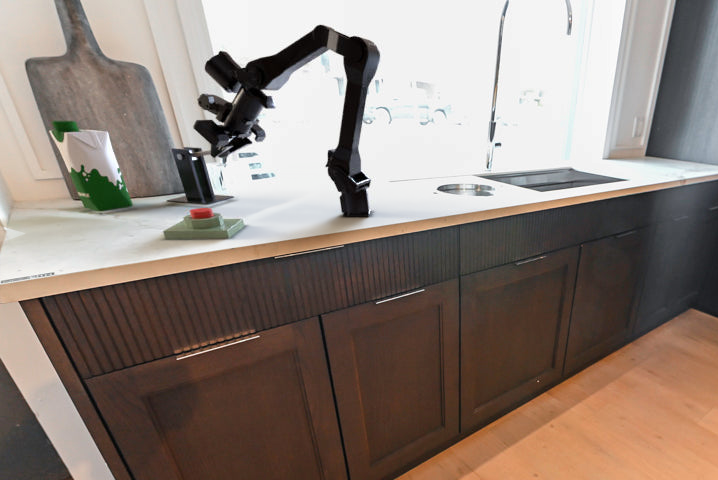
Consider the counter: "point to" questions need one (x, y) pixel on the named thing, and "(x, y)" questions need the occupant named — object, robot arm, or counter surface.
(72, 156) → the milk carton
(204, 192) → the bracket
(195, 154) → the lever
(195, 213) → the button
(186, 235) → the button block
